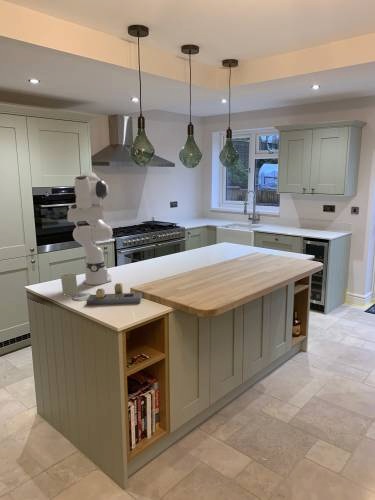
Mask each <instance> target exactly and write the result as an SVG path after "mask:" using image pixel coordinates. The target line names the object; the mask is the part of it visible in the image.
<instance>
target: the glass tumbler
mask: <svg viewBox="0 0 375 500" xmlns="http://www.w3.org/2000/svg"><path fill="white" fill-rule="evenodd" d="M60 279H61V280H60V281H61V288H62V289H61V290H62V295H63V294H65V295H71V296H74V295H73V294H75V295H77V294H79V290H78V281H77V274H76V273H67V274H66V273H65V274H62V275H61V276H60Z"/></svg>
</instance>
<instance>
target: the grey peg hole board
mask: <svg viewBox="0 0 375 500" xmlns="http://www.w3.org/2000/svg"><path fill="white" fill-rule="evenodd" d="M142 298H143V293H142V292H125V293H124V292H123V293H119V294H115V293H105V298H100V299H97V298H96V294H90V295H89V296H88V298H87V299H86V306H87V305H88V306H102V305H103V306H107V305H110V306H111V305H125V304H126V305H127V304H130V305H131V304H141V302H142Z"/></svg>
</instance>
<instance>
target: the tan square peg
mask: <svg viewBox="0 0 375 500" xmlns="http://www.w3.org/2000/svg"><path fill="white" fill-rule="evenodd" d="M105 291H106V290H105V288H97V290H96V291H95V295H96V298H97V299H100V298H105V294H106V293H105Z"/></svg>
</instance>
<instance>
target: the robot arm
mask: <svg viewBox="0 0 375 500" xmlns="http://www.w3.org/2000/svg"><path fill="white" fill-rule="evenodd" d="M109 191H110V190H109V185H108V183H107V182H106V181H104V180H103V178H100V177H98V175H97V174H96V173H95V172H93V171H92V172H91V171H88V172H85V173H84V174H83V175H78V176H75V178H74V186H73V192H74V196H75V202H73V203H70V204H69V205H68V210H67V215H66V217H67V221H68V223H74V225H75V228H74V229H73V232H72V237H73V239H74V241H75V242H77V243H78V244H80V245H81V247H82V248H83V249H84V251H85V257H86V269H85V271H84V274H85V275H84V276H85V277H84V278H85V280H83V283H84V284H86V285H93V286H95V285H97V286H98V285H102V284H105V283H110V282H112V275H111V274H109V273H108V269H107V267H106V261H105V258H104V251H103V249H102V248H101V247H100V246H97V245H95V243H96V242H105V241H110V240H111V239H112V238H113V234H114V233H113V228H112V227H111V226H110V225H109V224H107V223H105V222H104V221H103V220H104V213H103V211H104V205H103V204H102V203H101V200H104V199H105V198H106V197H107V196H108V194H109ZM78 222H86V223H87V224H88V225H78V224H77V223H78Z"/></svg>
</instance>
